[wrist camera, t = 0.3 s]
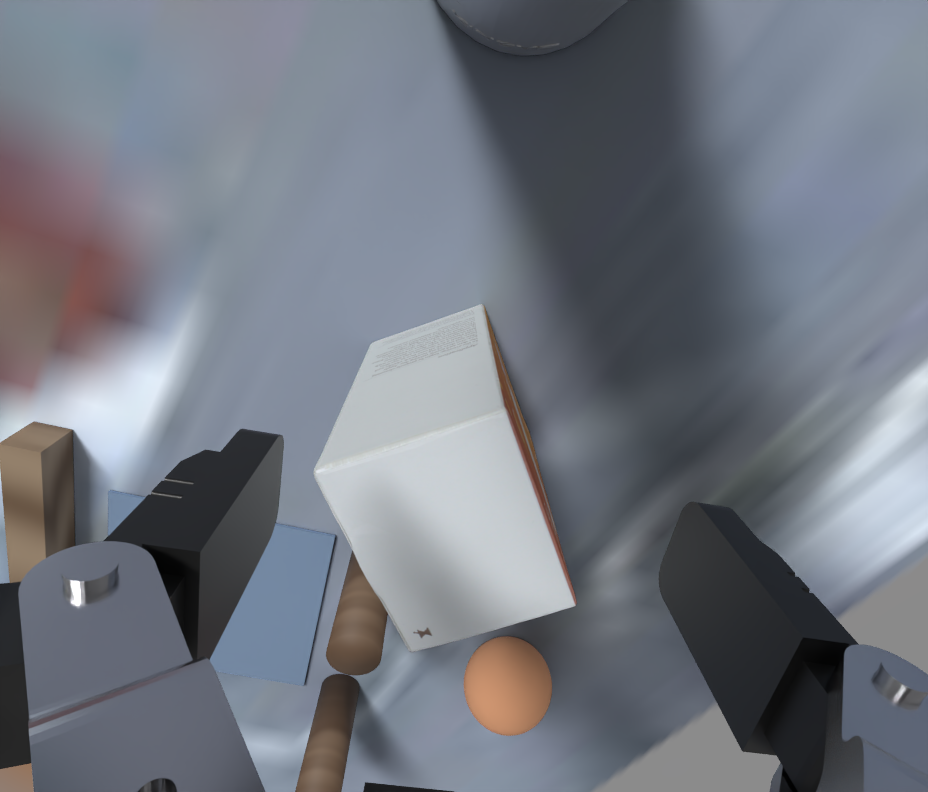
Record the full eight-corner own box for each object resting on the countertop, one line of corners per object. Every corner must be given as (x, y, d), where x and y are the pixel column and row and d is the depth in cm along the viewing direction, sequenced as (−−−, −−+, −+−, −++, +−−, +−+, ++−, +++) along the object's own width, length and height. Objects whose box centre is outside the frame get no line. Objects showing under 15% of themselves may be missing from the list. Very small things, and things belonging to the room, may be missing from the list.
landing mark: (110, 490, 31) (108, 492, 31) (335, 535, 33) (334, 537, 33) (108, 650, 36) (106, 653, 36) (304, 683, 38) (303, 686, 38)
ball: (475, 610, 35) (478, 685, 30) (555, 625, 36) (572, 701, 31) (454, 669, 38) (454, 748, 33) (530, 683, 38) (542, 762, 33)
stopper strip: (33, 421, 30) (-2, 443, 27) (72, 429, 30) (40, 452, 28) (47, 677, 37) (20, 711, 35) (77, 682, 37) (53, 716, 35)
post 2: (325, 671, 37) (293, 796, 30) (362, 677, 38) (340, 803, 30) (319, 696, 38) (287, 824, 31) (355, 703, 39) (332, 830, 31)
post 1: (358, 524, 33) (330, 631, 25) (401, 533, 33) (386, 640, 26) (350, 558, 34) (322, 670, 26) (392, 566, 34) (375, 679, 27)
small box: (531, 433, 30) (581, 612, 18) (425, 467, 31) (407, 660, 19) (484, 298, 27) (508, 407, 15) (367, 339, 28) (303, 474, 16)
